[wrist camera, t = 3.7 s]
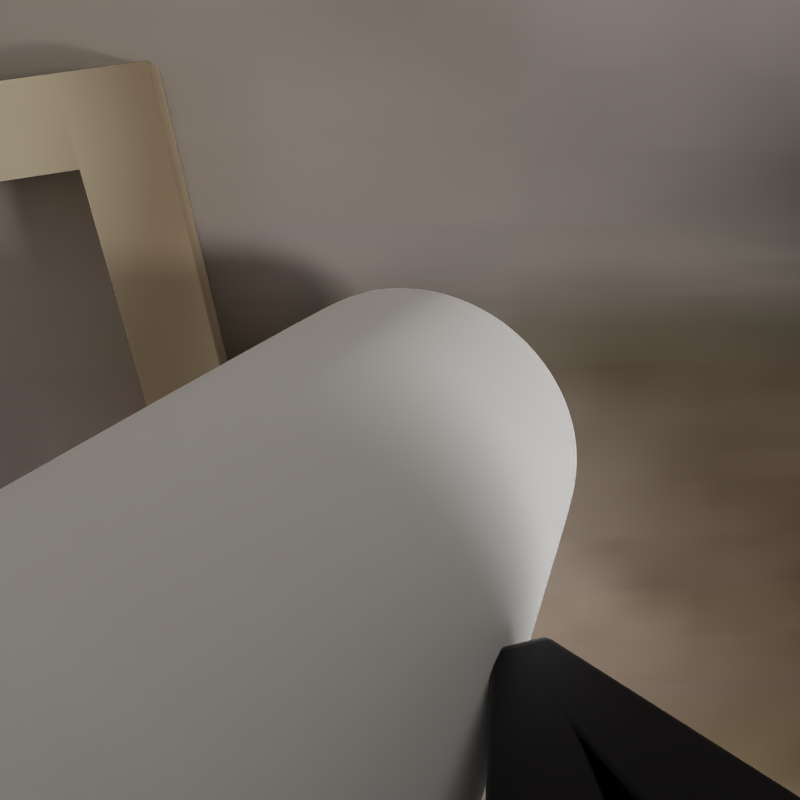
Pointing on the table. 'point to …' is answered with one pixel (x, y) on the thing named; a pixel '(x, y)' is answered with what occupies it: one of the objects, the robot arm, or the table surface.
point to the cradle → (124, 205)
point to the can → (288, 568)
